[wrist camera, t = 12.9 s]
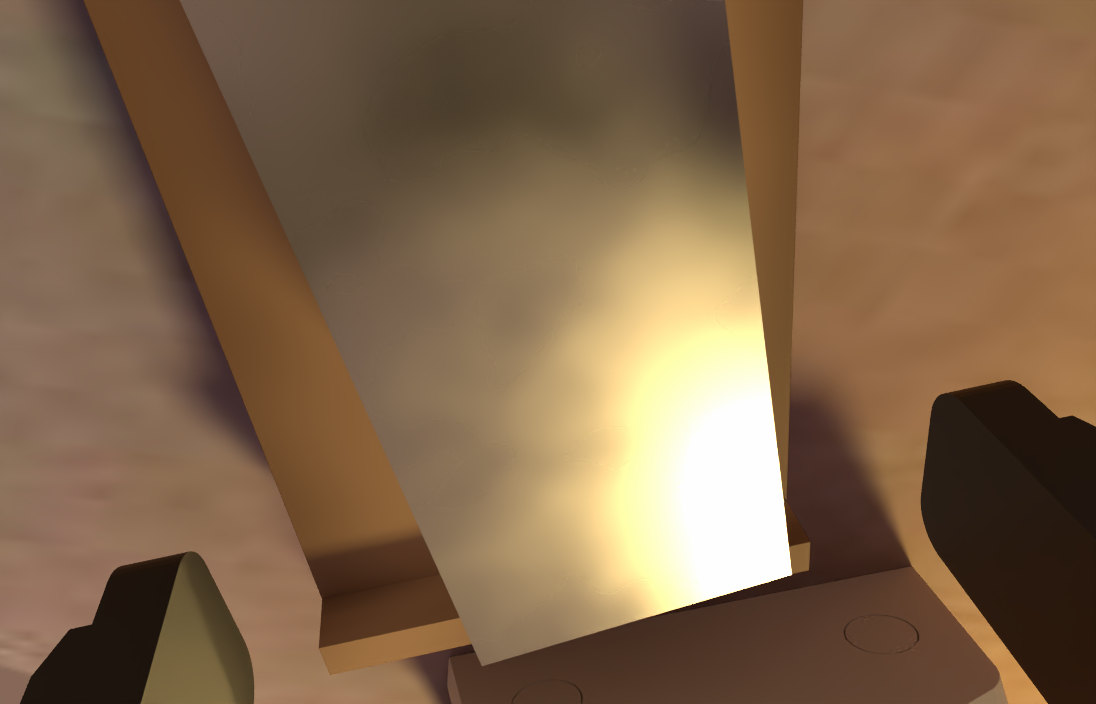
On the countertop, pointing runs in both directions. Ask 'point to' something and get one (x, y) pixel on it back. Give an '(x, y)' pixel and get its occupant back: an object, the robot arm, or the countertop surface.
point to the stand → (311, 353)
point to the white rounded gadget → (758, 654)
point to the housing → (530, 286)
